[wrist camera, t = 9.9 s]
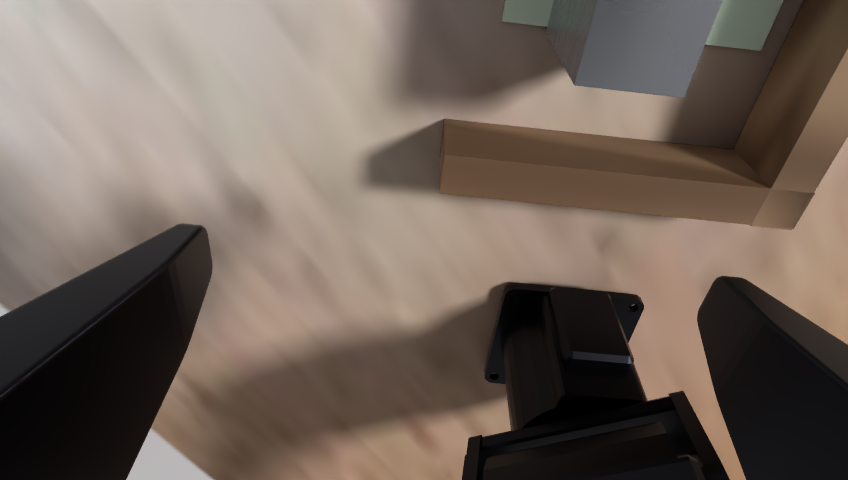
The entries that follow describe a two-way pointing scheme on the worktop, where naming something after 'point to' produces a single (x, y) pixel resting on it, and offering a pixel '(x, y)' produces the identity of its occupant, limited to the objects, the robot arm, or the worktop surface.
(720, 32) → the pad
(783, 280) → the worktop surface
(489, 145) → the wooden corner frame
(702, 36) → the bracket
